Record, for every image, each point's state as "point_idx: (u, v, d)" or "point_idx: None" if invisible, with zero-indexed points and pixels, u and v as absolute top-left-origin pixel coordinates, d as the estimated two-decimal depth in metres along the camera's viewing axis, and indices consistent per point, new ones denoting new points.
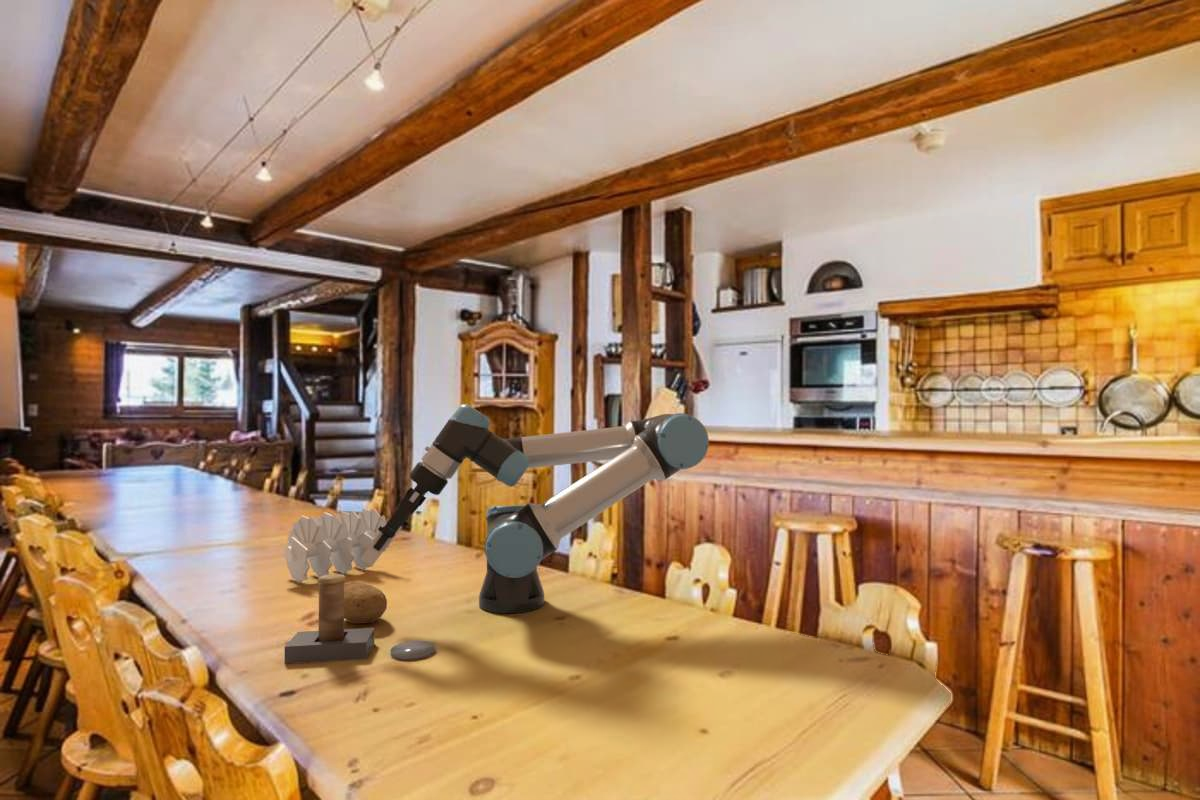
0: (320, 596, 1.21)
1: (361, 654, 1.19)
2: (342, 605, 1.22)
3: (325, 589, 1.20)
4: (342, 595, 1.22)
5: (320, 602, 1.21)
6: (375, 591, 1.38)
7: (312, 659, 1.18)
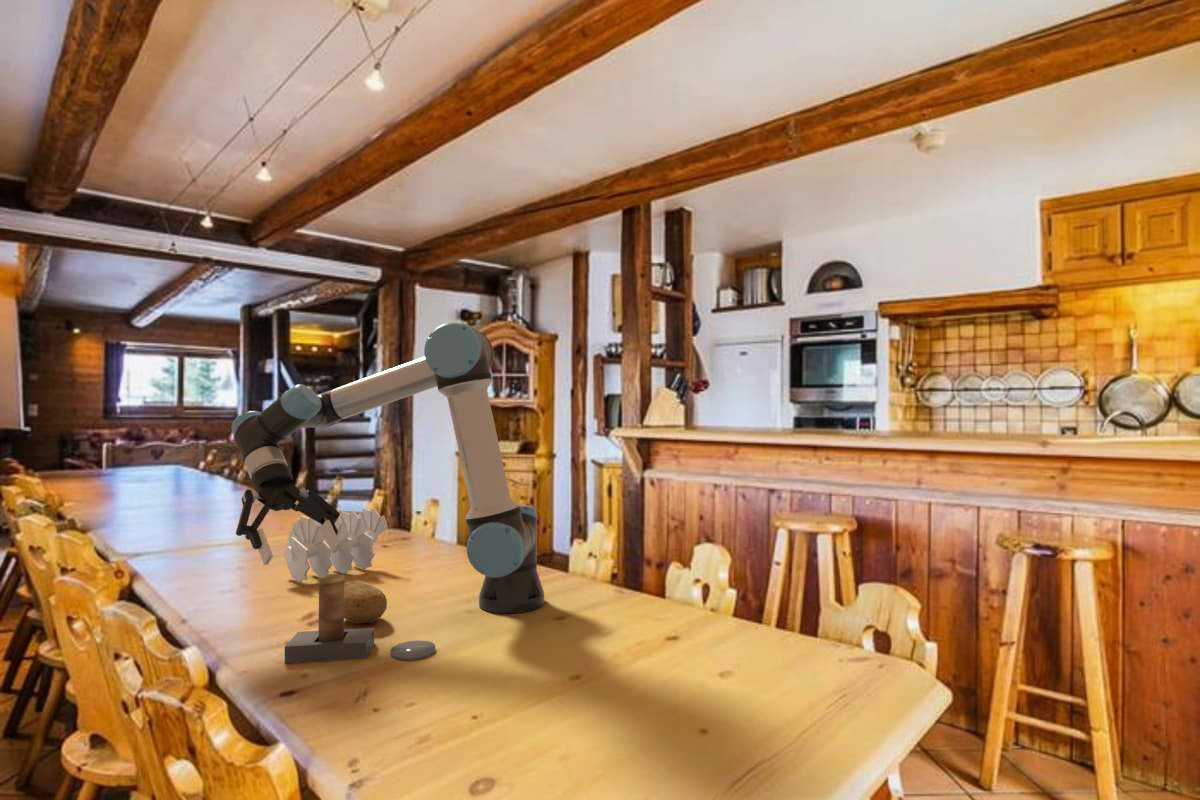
0: (320, 596, 1.21)
1: (361, 654, 1.19)
2: (342, 605, 1.22)
3: (325, 589, 1.20)
4: (342, 595, 1.22)
5: (320, 602, 1.21)
6: (375, 591, 1.38)
7: (312, 659, 1.18)
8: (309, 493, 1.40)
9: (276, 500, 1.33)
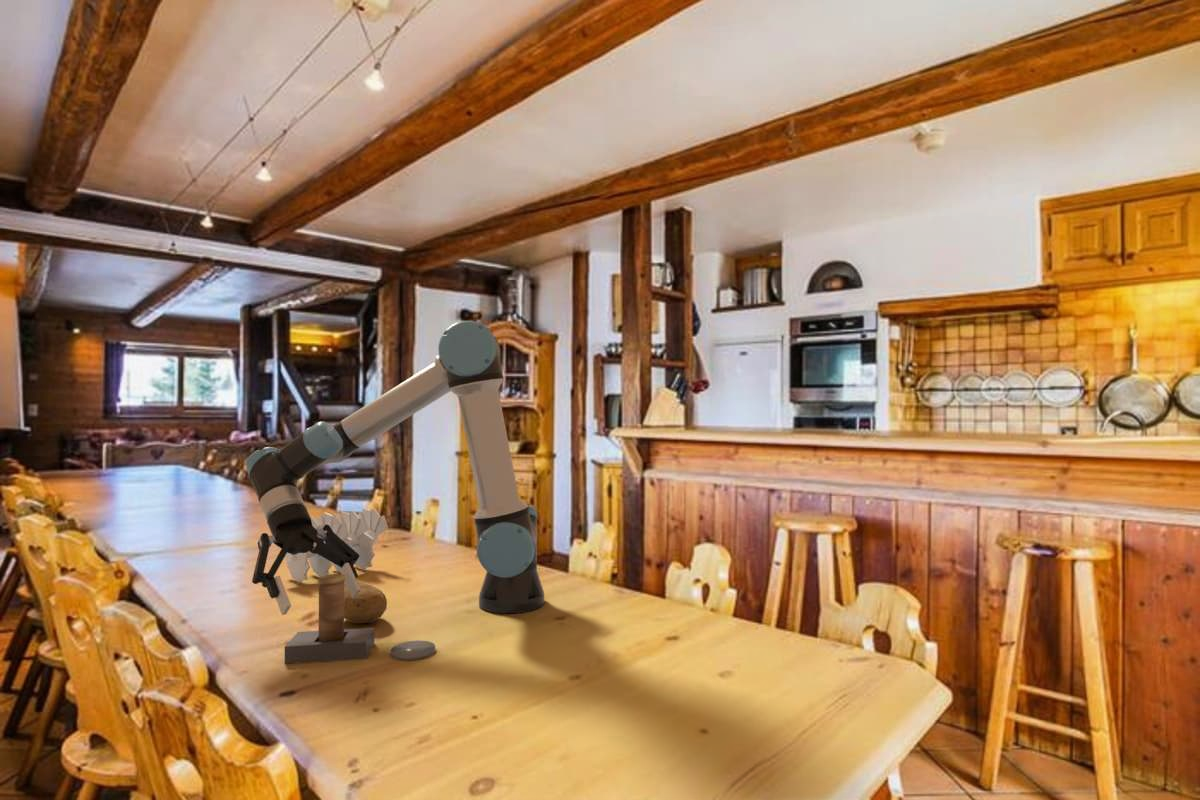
0: (320, 596, 1.21)
1: (361, 654, 1.19)
2: (342, 605, 1.22)
3: (325, 589, 1.20)
4: (342, 595, 1.22)
5: (320, 602, 1.21)
6: (375, 591, 1.38)
7: (312, 659, 1.18)
8: (327, 534, 1.34)
9: (293, 543, 1.27)
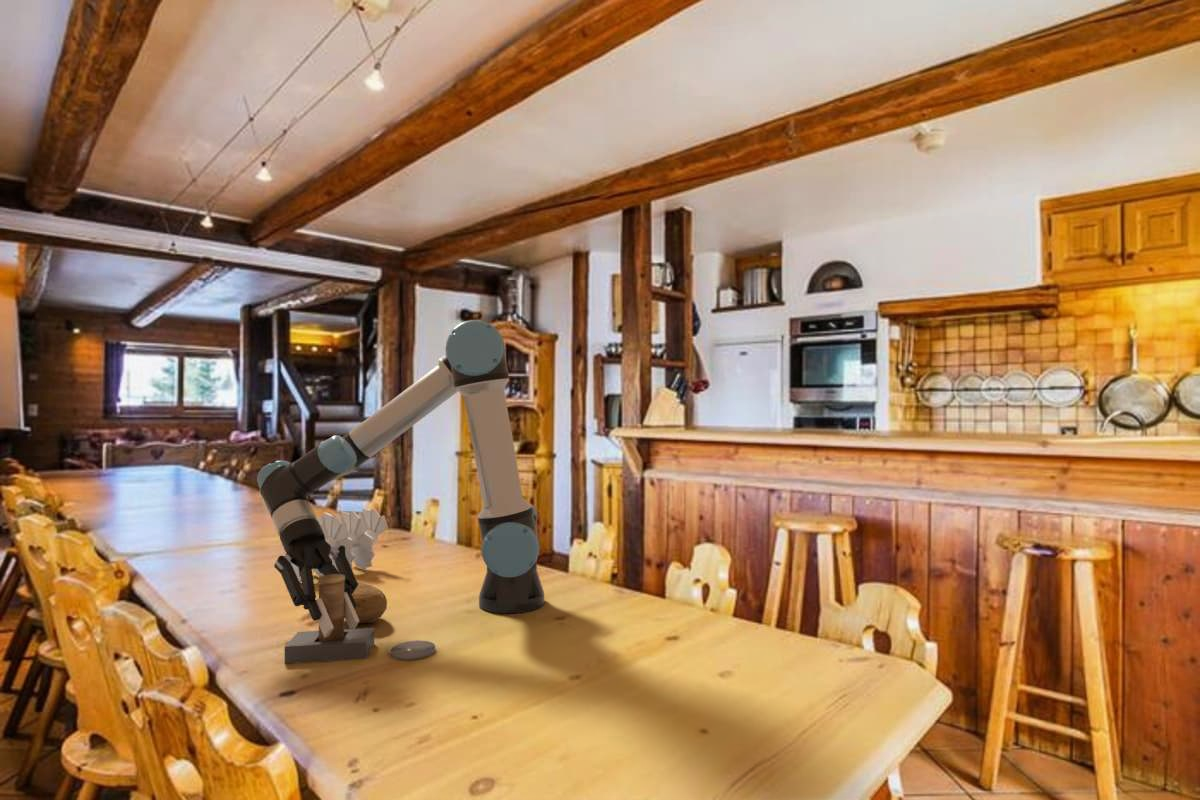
0: (320, 596, 1.21)
1: (361, 654, 1.19)
2: (342, 605, 1.22)
3: (325, 589, 1.20)
4: (342, 595, 1.22)
5: None
6: (375, 591, 1.38)
7: (312, 659, 1.18)
8: (338, 554, 1.30)
9: (311, 558, 1.26)
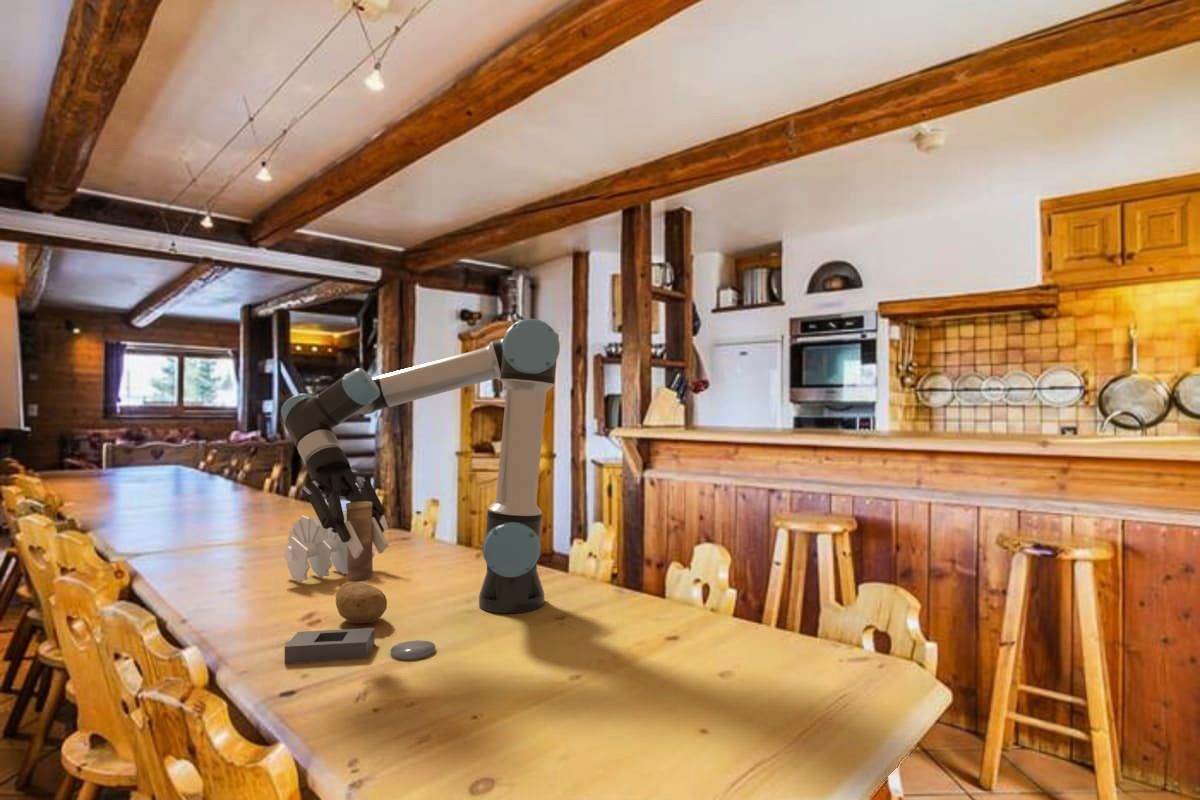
0: None
1: (361, 654, 1.19)
2: (371, 530, 1.23)
3: (354, 514, 1.20)
4: (370, 520, 1.22)
5: None
6: (375, 591, 1.38)
7: (312, 659, 1.18)
8: (364, 483, 1.30)
9: (338, 485, 1.26)
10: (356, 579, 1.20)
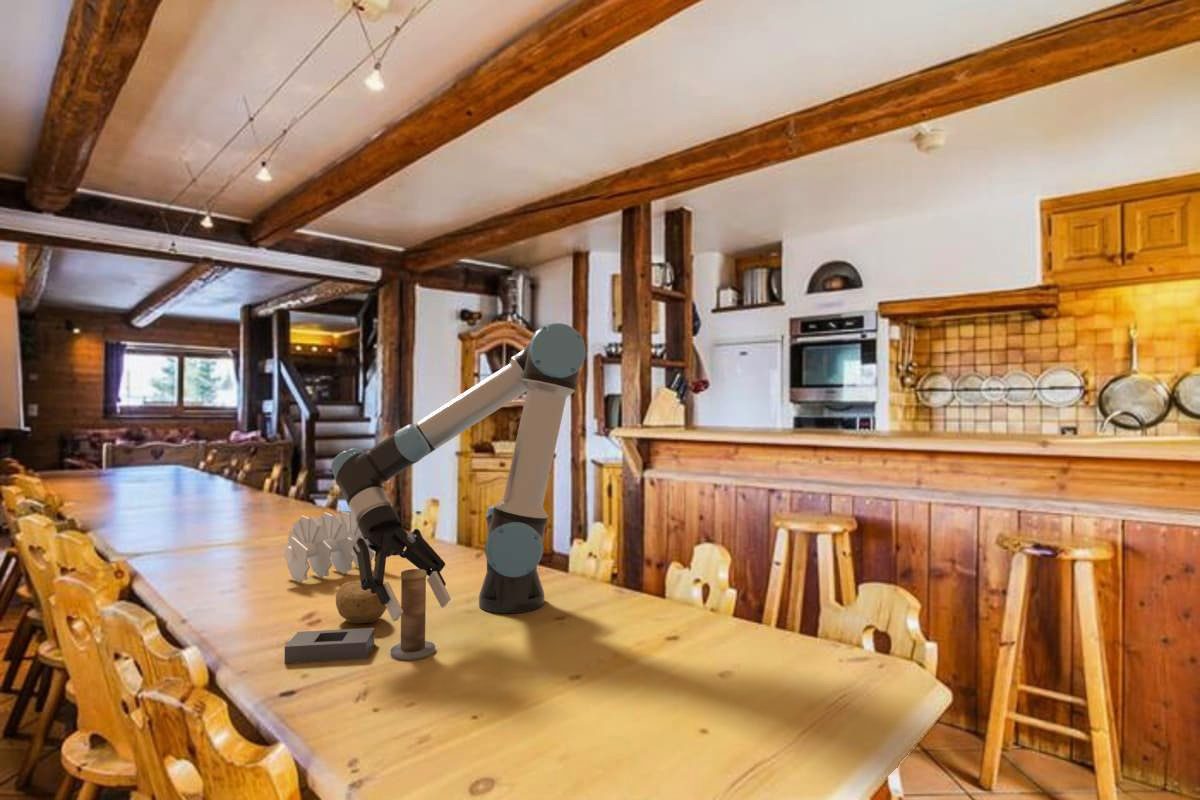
0: (404, 591, 1.21)
1: (361, 654, 1.19)
2: (425, 600, 1.22)
3: (409, 585, 1.20)
4: (424, 590, 1.22)
5: (404, 597, 1.21)
6: None
7: (312, 659, 1.18)
8: (416, 538, 1.31)
9: (388, 546, 1.26)
10: (410, 649, 1.20)
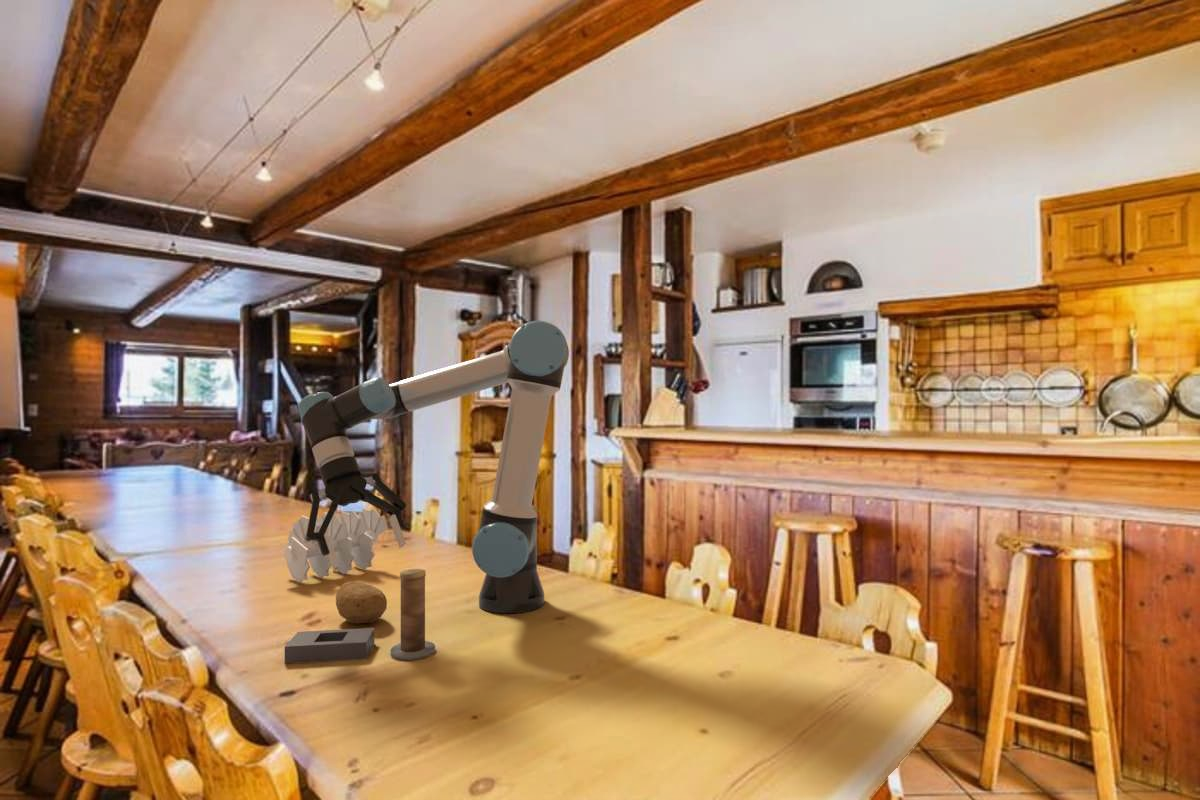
0: (403, 591, 1.21)
1: (361, 654, 1.19)
2: (424, 600, 1.23)
3: (409, 584, 1.21)
4: (424, 590, 1.23)
5: (403, 597, 1.21)
6: (375, 591, 1.38)
7: (312, 659, 1.18)
8: (376, 483, 1.39)
9: (342, 498, 1.34)
10: (410, 649, 1.20)
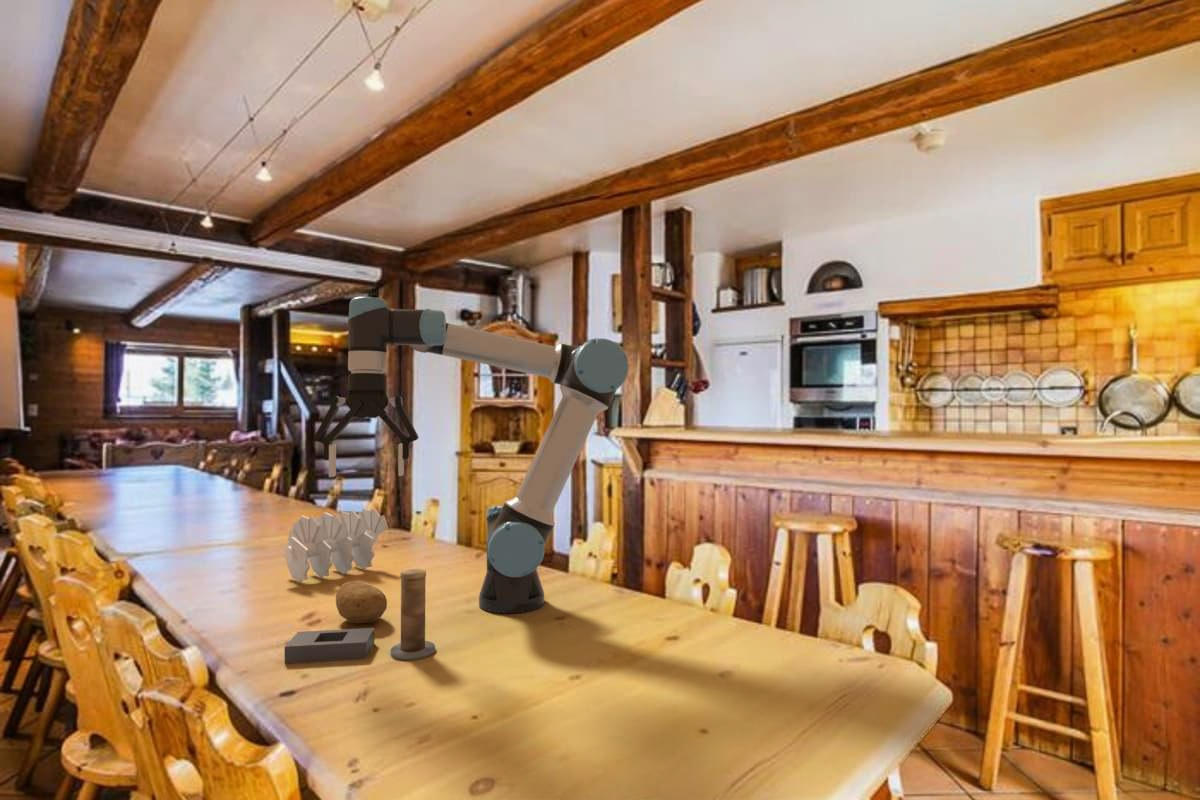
0: (403, 591, 1.21)
1: (361, 654, 1.19)
2: (424, 600, 1.23)
3: (409, 584, 1.21)
4: (424, 590, 1.23)
5: (403, 597, 1.21)
6: (375, 591, 1.38)
7: (312, 659, 1.18)
8: (396, 406, 1.35)
9: (358, 412, 1.34)
10: (410, 649, 1.20)
